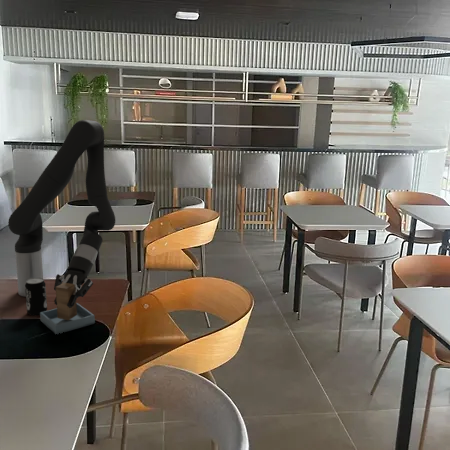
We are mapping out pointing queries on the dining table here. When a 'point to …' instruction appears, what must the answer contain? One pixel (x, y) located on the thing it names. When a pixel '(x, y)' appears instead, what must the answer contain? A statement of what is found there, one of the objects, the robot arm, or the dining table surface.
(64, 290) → the wooden block
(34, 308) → the beverage can
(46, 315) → the box
